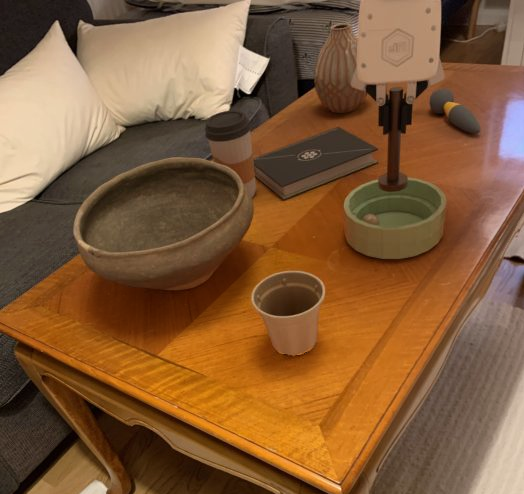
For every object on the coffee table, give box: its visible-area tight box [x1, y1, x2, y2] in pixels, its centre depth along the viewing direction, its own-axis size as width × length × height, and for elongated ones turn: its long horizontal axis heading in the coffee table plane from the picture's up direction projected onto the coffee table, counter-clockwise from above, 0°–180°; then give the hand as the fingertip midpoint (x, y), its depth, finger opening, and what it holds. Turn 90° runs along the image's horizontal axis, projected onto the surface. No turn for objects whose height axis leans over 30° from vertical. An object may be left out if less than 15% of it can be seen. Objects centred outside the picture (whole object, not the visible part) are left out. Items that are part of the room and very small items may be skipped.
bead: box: [361, 214, 379, 225], centre depth 85 cm, size 3×3×3 cm
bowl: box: [72, 156, 255, 291], centre depth 82 cm, size 28×28×14 cm
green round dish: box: [343, 177, 447, 260], centre depth 84 cm, size 16×16×6 cm
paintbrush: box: [429, 88, 481, 135], centre depth 110 cm, size 20×5×5 cm, turn 20°
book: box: [253, 126, 379, 201], centre depth 105 cm, size 22×15×3 cm
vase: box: [313, 22, 369, 114], centre depth 119 cm, size 13×13×18 cm
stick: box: [377, 86, 409, 192], centre depth 75 cm, size 4×4×14 cm
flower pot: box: [250, 270, 326, 356], centre depth 69 cm, size 9×9×9 cm
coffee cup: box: [204, 109, 257, 198], centre depth 98 cm, size 8×8×15 cm
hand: (394, 129), depth 74 cm, fingers closed on stick
